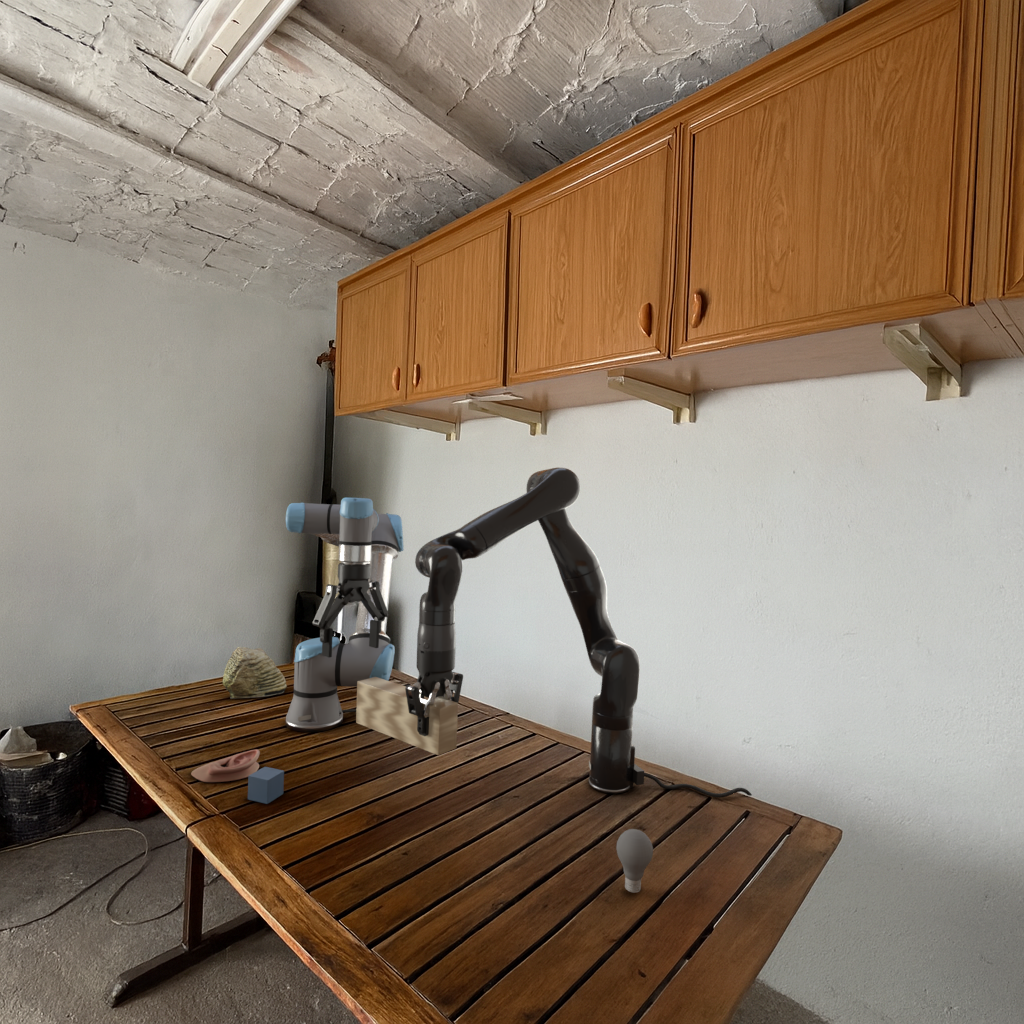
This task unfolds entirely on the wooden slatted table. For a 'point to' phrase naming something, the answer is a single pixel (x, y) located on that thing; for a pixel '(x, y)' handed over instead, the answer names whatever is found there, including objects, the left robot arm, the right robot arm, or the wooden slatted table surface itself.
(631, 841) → the light bulb
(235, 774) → the anatomical model
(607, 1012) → the wooden slatted table surface
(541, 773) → the wooden slatted table surface
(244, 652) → the fossil
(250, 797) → the slate blue block
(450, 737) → the ash bar
